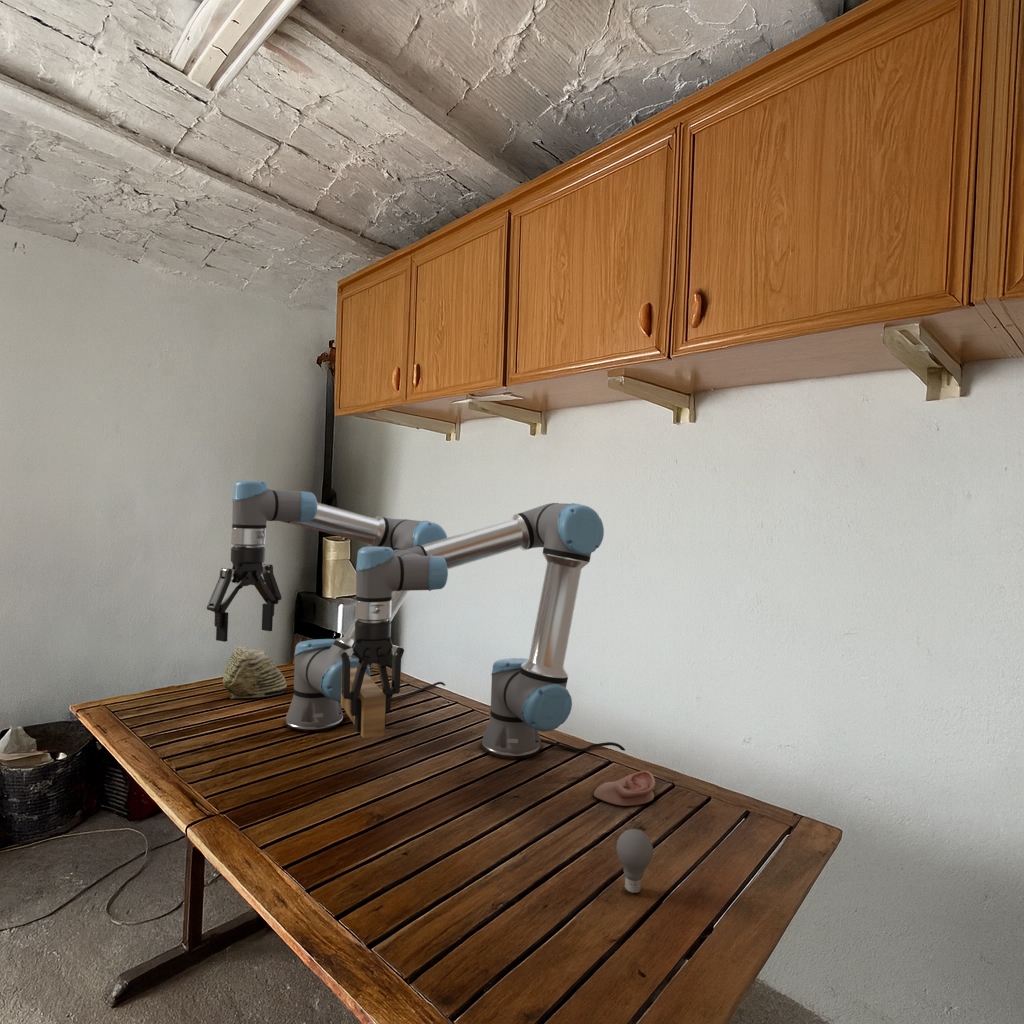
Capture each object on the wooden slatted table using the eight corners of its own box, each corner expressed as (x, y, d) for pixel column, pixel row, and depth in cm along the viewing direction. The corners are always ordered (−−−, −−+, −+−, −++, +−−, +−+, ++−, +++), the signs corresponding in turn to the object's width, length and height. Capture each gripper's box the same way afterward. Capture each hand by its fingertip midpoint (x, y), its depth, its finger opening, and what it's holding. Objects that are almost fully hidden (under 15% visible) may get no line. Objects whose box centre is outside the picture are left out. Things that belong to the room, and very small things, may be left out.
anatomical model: (593, 783, 136) (596, 762, 147) (592, 802, 136) (596, 779, 148) (656, 792, 134) (655, 770, 145) (655, 810, 134) (654, 787, 145)
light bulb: (610, 879, 108) (613, 822, 108) (644, 879, 109) (647, 822, 109) (619, 902, 102) (622, 840, 102) (655, 901, 103) (658, 840, 103)
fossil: (218, 695, 195) (220, 647, 195) (278, 685, 208) (279, 640, 207) (228, 703, 189) (230, 653, 188) (289, 692, 201) (290, 645, 201)
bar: (340, 704, 151) (341, 668, 151) (359, 702, 153) (360, 667, 153) (363, 738, 131) (364, 697, 131) (384, 735, 133) (385, 695, 133)
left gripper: (216, 549, 137) (212, 647, 137) (298, 544, 159) (295, 628, 160) (191, 547, 140) (188, 643, 140) (275, 542, 162) (272, 624, 163)
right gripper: (334, 625, 127) (331, 740, 128) (418, 620, 135) (415, 728, 136) (327, 618, 134) (324, 727, 135) (408, 614, 142) (405, 717, 142)
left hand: (245, 635), depth 150 cm, fingers open, 13 cm apart
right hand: (370, 728), depth 135 cm, fingers closed on bar, 5 cm apart
